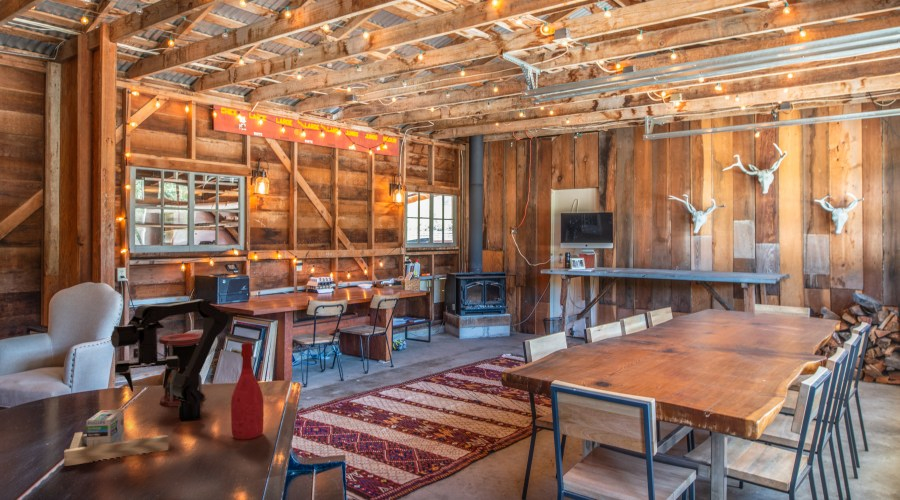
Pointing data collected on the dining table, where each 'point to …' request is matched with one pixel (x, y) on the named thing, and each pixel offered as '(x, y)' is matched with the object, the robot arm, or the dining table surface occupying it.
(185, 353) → the hourglass
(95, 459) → the wall board
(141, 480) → the dining table surface
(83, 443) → the lip
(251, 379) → the wine bottle
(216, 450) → the dining table surface
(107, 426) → the light bulb box
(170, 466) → the dining table surface
